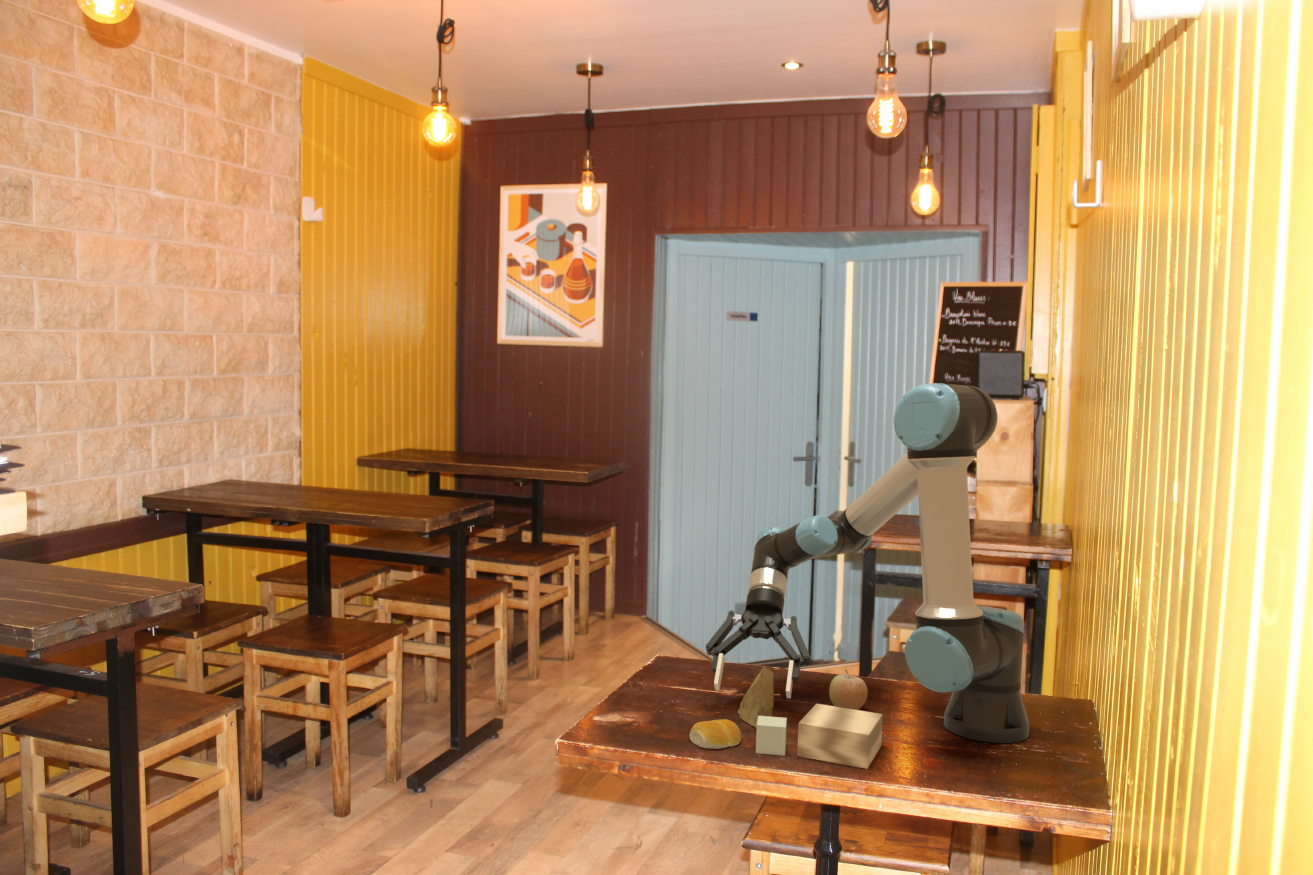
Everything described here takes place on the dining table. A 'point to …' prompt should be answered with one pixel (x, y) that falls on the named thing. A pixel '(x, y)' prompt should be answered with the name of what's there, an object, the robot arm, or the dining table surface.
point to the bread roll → (715, 734)
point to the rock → (758, 698)
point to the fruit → (848, 691)
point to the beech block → (840, 735)
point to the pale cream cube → (771, 735)
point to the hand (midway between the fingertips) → (752, 690)
